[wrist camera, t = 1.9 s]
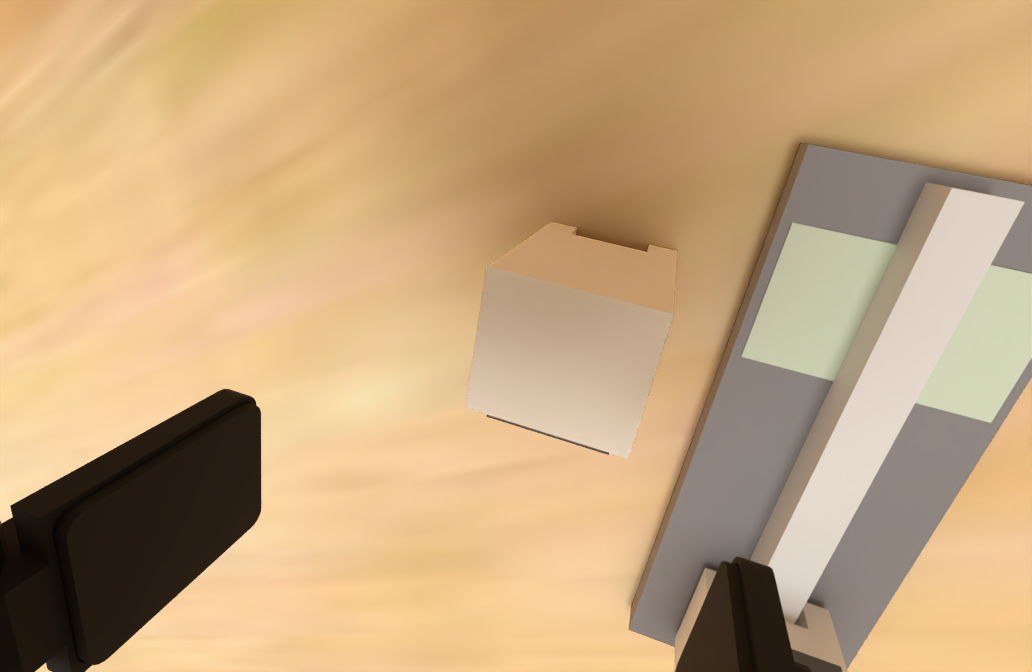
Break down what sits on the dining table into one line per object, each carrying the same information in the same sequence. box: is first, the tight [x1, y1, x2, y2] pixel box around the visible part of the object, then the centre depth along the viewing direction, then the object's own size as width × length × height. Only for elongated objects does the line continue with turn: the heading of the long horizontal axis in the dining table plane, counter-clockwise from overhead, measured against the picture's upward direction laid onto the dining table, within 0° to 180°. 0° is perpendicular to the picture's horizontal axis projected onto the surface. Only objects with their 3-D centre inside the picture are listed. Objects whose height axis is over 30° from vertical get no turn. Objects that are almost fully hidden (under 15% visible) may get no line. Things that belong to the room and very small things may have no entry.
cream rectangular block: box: [465, 222, 677, 459], centre depth 21 cm, size 6×6×9 cm
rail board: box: [629, 143, 1032, 672], centre depth 20 cm, size 25×10×11 cm, turn 170°
